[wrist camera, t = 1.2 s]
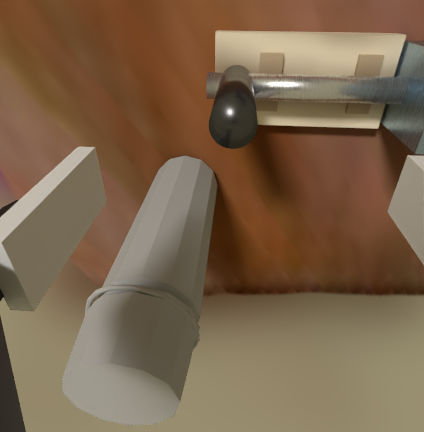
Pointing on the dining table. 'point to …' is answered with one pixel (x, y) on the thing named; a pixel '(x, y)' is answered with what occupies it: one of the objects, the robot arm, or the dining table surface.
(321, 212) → the dining table surface
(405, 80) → the metal lever handle
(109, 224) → the dining table surface
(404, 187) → the robot arm
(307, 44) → the panel
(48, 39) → the dining table surface
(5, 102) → the dining table surface
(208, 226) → the water bottle
